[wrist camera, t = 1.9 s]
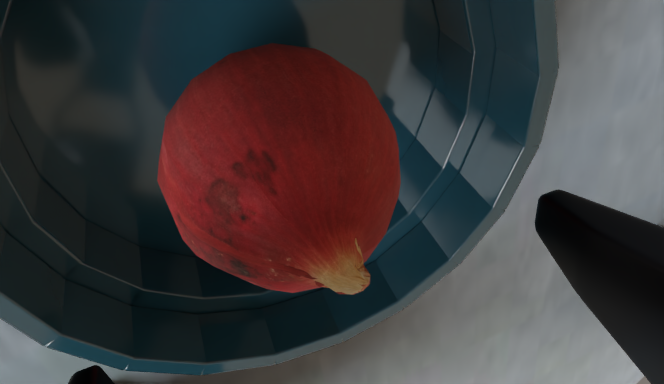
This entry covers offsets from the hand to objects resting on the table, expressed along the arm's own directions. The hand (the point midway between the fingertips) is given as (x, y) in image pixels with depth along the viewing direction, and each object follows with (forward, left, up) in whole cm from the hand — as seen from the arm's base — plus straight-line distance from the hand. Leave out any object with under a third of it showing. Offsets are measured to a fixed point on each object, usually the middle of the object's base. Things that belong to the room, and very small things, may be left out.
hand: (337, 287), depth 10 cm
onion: (0, 0, -8) cm, 8 cm away
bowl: (0, 0, -8) cm, 8 cm away
